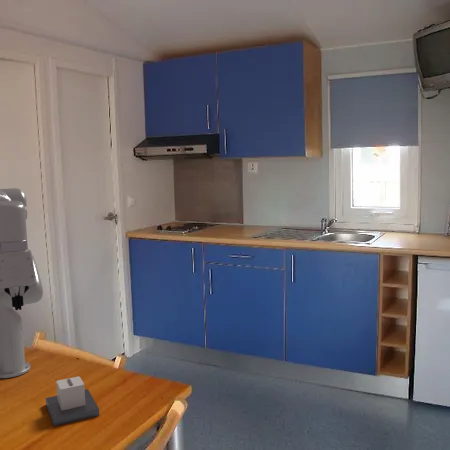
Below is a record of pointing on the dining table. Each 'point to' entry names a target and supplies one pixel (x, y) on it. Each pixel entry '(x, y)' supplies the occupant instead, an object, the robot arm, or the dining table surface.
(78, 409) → the plate
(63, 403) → the knob
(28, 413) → the dining table surface
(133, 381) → the dining table surface
